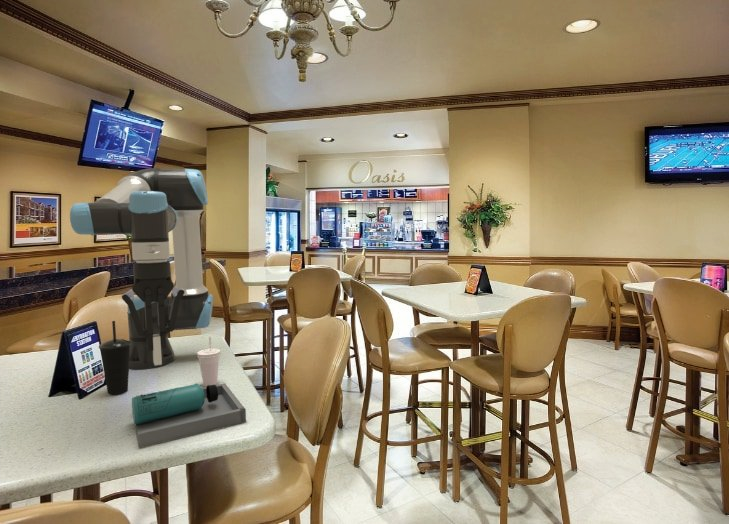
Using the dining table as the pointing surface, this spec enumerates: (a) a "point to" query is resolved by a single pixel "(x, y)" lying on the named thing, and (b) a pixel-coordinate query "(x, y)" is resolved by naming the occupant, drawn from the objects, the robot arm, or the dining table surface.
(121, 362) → the drinking cup
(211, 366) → the smoothie
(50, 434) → the dining table surface
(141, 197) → the robot arm
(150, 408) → the beverage bottle
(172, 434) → the charcoal tray
